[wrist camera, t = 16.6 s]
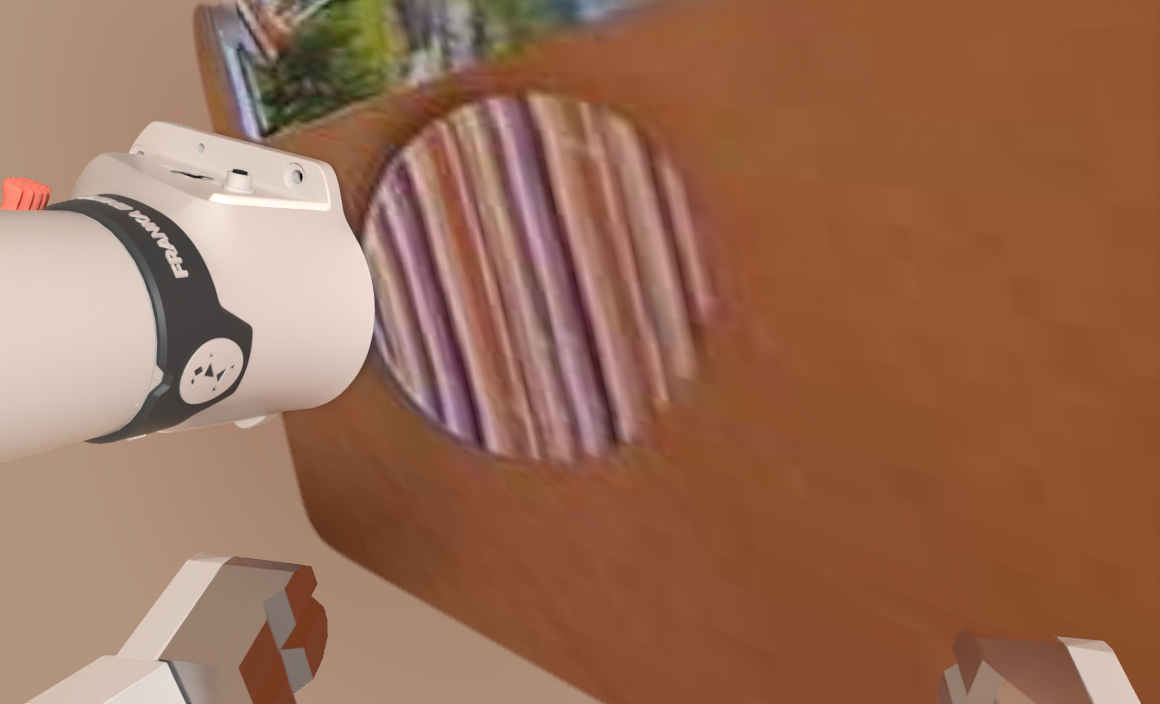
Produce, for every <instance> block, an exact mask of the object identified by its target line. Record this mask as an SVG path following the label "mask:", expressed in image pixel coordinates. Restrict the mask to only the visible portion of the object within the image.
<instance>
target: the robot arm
mask: <svg viewBox="0 0 1160 704" xmlns="http://www.w3.org/2000/svg"><path fill="white" fill-rule="evenodd" d="M301 173H302V175H303V179H302V182H301V181H300V174H301ZM2 191H3V202H2V205H1V207H0V464H2V463H6V462H9V461H13V460H16V459H20V458H23V457H27V456H30V455H34V454H37V453H41V452H45V451H48V450H52V449H55V448H59V447H63V446H66V445H70V444H74V443H78V442H81V441H84V442H89V443H99V444H100V443H101V444H102V443H109V442H115V441H122V440H124V439H127V440H132V439H137V438H141V437H145V436H146V434H149V433H152V432H160V433H169V432H177V431H183V430H189V429H195V428H201V427H207V426H213V425H218V424H224V423H230V422H233V423H234V424H235V425H236V426H238V427H240V428H243V429H248V428H254V427H259V426H261V425H264V424H265V423H267V422H269V421H270V420H271V419H273V418H274V417H276V416H277V415H278V414H280V413H282V412H285V411H293V410H303V409H310V408H314V407H318V406H320V405H323V404H325V403H327V402H329V401H331V400H332V399H334V398H335V397H337V396H338V395H339V394H341V393H342V392H343V391H344V390H345V389H346V388H347V387H348V386H349V385H350V384H351V382H352V381H353V380H354V378H355V377H356V375H357V374H358V372H359V371H360V369H361V367H362V365H363V363H364V361H365V358H366V356H367V353H368V350H369V347H370V343H371V339H372V334H373V328H374V314H375V306H374V293H373V286H372V281H371V276H370V272H369V269H368V265H367V262H366V259H365V257H364V254H363V252H362V250H361V248H360V245H359V243H358V242H357V240H356V238H355V236H354V234H353V232H352V231H351V229H350V227H349V225H348V223H347V221H346V218H345V216H344V213H343V207H342V201H341V195H340V190H339V185H338V181H337V178H336V175H335V172H334V170H333V169H332V167H331V166H330V165H329V164H327V163H326V162H323V161H320V160H317V159H313V158H309V157H305V156H301V155H297V154H293V153H290V152H286V151H282V150H278V149H274V148H270V147H266V146H262V145H258V144H255V143H251V142H247V141H243V140H239V139H235V138H231V137H227V136H224V135H220V134H216V133H212V132H208V131H204V130H200V129H196V128H192V127H189V126H185V125H180V124H177V123H173V122H165V121H164V122H163V121H154V122H152V123H150V124H149V125H148V126H147V127H146V128H145V129H144V130H143V131H142V132H141V134H140V135H139V136H138V138H137V139H136V141H135V142H134V144H133V146H132V147H131V149H130V151H129V153H104V154H101V155H99V156H97V157H96V158H95V159H93V160H92V161H91V162H90V163H89V164H88V165H87V166H86V168H85V169H84V170H83V172H82V174H81V175H80V177H79V178H78V180H77V183H76V184H75V187H74V189H73V192H72V195H71V197H70V200H69V201H65V202H61V203H56V204H53V205H50V206H47V207H46V205H47V203H48V201H49V198H50V194H51V189H50V188H49V187H48V186H46V185H44V184H42V183H39V182H37V181H32V180H29V179H25V178H22V179H21V178H18V177H14V178H7V179H4V181H3V189H2ZM316 585H317V581H316V579H315V576H314V573H313V570H312V567H311V566H305V565H299V564H291V563H282V562H274V561H267V560H259V559H251V558H242V557H235V556H234V557H233V556H224V555H215V554H206V553H198V554H197V555H195V556H193V557H192V558H191V559H189V560H187V561H186V562H185V564H184V565H183V566H182V568H181V569H180V570H179V572H178V573H177V574H176V576H175V577H174V578H173V580H172V581H171V582H170V584H169V585H168V587H167V588H166V589H165V590H164V592H163V593H162V594H161V596H160V597H159V598H158V600H157V601H156V602H155V604H154V605H153V606H152V608H151V609H150V611H149V612H148V613H147V615H146V616H145V617H144V619H143V620H142V621H141V623H140V624H139V625H138V627H137V628H136V629H135V631H134V632H133V633H132V635H131V636H130V637H129V639H128V640H127V641H126V643H125V644H124V645H123V647H122V648H121V649H120V651H119V652H118V654H117V655H116V656H112V655H104V656H103V657H101V658H99V659H97V660H96V661H94V662H92V663H91V664H89V665H88V666H86V667H84V668H83V669H81V670H79V671H78V672H76V673H75V674H73V675H71V676H70V677H68V678H66V679H65V680H63V681H62V682H60V683H58V684H56V685H55V686H53V687H51V688H50V689H48V690H47V691H45V692H43V693H42V694H40V695H39V696H37V697H35V698H34V699H32V700H30V701H29V702H27V703H25V704H297V703H296V699H295V694H294V693H296V692H297V691H298V690H299V689H301V688H302V687H304V686H305V685H306V684H307V683H309V682H310V681H311V680H313V678H314V676H315V674H316V672H317V670H318V668H319V665H320V663H321V660H322V658H323V654H324V650H325V645H326V641H327V636H328V635H327V617H326V613H325V609H324V607H323V606H322V605H321V604H320V603H319V602H318V601H317V600H315V599H314V598H313V597H312V596H311V595H312V593H313V591H314V589H315V588H316ZM953 651H954V654H955V657H956V661H957V664H956V665H954V666H952V667H951V668H949V669H947V670H946V671H944V673H943V676H942V679H941V682H940V686H939V689H938V704H1141V703H1140V701H1139V699H1138V697H1137V696H1136V694H1135V692H1134V690H1133V688H1132V686H1131V684H1130V682H1129V680H1128V678H1127V676H1126V674H1125V673H1124V671H1123V669H1122V667H1121V665H1120V663H1119V661H1118V659H1117V657H1116V655H1115V653H1114V652H1113V650H1112V649H1111V648H1110V647H1109V646H1108V645H1107V644H1106V643H1105V642H1104V641H1097V640H1087V639H1076V638H1066V637H1052V636H1051V635H1042V634H1030V633H1018V632H1007V631H995V630H983V629H971V628H964V629H963V630H962V631H961V632H960V633H958V635H957V638H956V640H955V643H954V646H953Z"/></svg>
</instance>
